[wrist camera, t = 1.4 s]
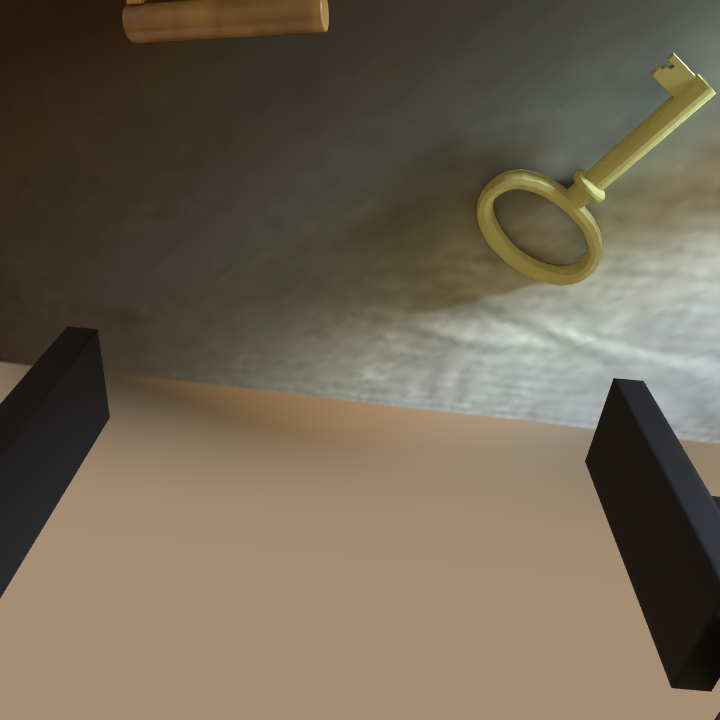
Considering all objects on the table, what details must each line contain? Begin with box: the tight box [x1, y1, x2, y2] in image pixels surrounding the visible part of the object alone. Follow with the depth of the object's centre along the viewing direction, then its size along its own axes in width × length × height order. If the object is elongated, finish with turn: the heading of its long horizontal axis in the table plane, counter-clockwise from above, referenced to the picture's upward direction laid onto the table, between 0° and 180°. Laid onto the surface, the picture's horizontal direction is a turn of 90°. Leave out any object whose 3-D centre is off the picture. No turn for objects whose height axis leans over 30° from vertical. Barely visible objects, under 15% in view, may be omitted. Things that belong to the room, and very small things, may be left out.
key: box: [476, 52, 716, 285], centre depth 32 cm, size 7×12×2 cm, turn 160°
